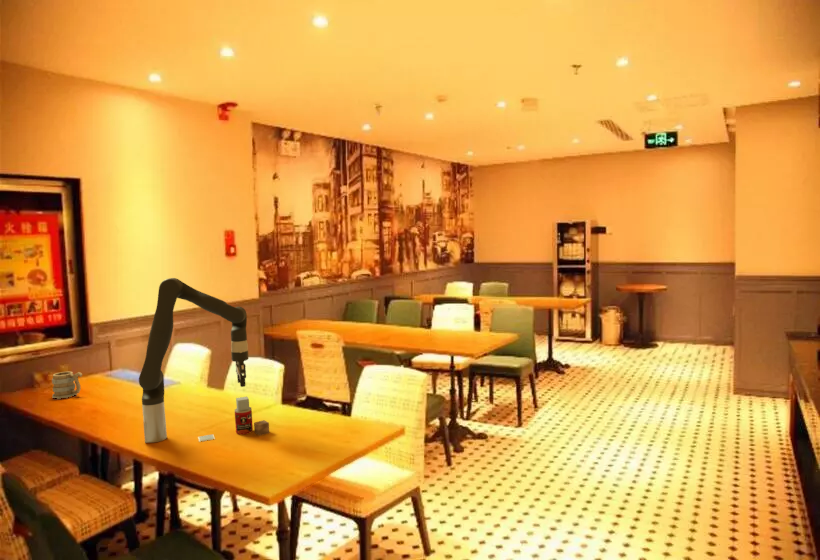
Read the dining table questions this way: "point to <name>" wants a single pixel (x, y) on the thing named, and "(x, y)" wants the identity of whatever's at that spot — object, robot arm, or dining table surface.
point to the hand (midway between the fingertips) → (241, 384)
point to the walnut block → (261, 427)
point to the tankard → (65, 384)
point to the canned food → (243, 421)
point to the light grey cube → (242, 403)
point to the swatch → (206, 438)
